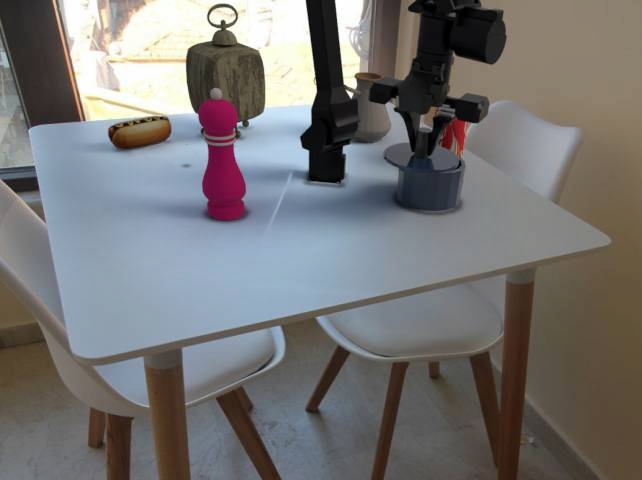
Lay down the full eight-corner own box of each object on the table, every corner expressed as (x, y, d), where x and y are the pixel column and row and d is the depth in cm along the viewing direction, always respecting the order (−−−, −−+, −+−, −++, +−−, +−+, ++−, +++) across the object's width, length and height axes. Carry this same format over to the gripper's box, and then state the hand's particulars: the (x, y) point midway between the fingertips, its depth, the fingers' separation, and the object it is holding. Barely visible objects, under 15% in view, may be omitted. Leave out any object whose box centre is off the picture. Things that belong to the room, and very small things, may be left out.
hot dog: (178, 142, 129) (175, 118, 126) (119, 155, 122) (114, 129, 119) (165, 136, 132) (162, 111, 129) (107, 148, 124) (102, 122, 121)
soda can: (459, 171, 127) (469, 111, 120) (426, 167, 128) (434, 107, 121) (462, 160, 133) (472, 101, 125) (430, 155, 134) (438, 97, 126)
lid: (380, 172, 99) (383, 138, 96) (385, 146, 109) (388, 114, 106) (459, 180, 99) (465, 146, 96) (456, 153, 109) (461, 121, 105)
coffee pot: (364, 125, 147) (368, 56, 137) (400, 138, 141) (407, 67, 131) (297, 143, 134) (297, 68, 124) (334, 158, 128) (336, 81, 119)
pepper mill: (255, 209, 107) (248, 86, 94) (234, 225, 102) (225, 97, 89) (218, 200, 109) (207, 79, 96) (196, 216, 103) (181, 89, 91)
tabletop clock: (248, 124, 142) (241, -2, 126) (271, 135, 137) (266, 6, 121) (192, 134, 134) (177, 1, 118) (214, 147, 129) (202, 10, 113)
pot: (395, 210, 111) (399, 169, 106) (397, 185, 120) (400, 146, 115) (460, 216, 111) (467, 175, 106) (456, 190, 120) (463, 152, 115)
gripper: (356, 49, 90) (351, 155, 100) (478, 71, 85) (459, 181, 95) (386, 37, 98) (378, 137, 108) (499, 57, 93) (479, 159, 103)
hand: (421, 153), depth 103 cm, fingers closed on lid, 3 cm apart
